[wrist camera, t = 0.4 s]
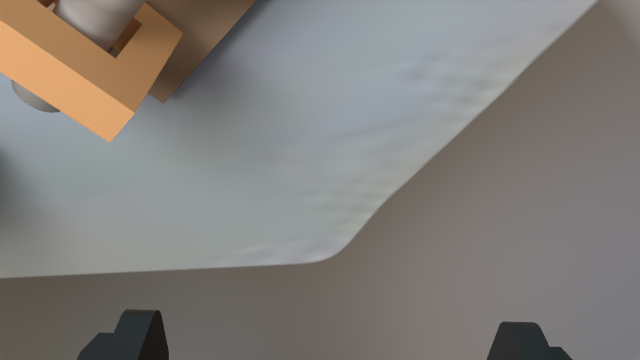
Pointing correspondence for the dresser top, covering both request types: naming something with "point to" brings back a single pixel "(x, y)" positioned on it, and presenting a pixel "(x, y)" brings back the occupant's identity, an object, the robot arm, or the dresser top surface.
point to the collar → (84, 62)
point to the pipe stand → (175, 6)
